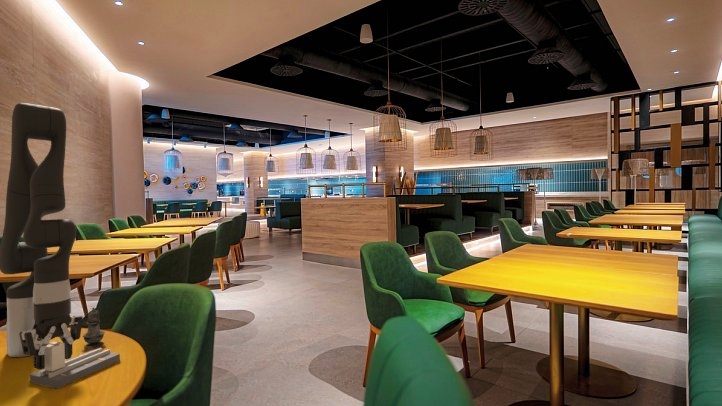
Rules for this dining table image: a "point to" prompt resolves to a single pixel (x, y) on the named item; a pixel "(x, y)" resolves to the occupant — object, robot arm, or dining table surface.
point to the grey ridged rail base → (76, 368)
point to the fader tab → (54, 357)
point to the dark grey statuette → (93, 331)
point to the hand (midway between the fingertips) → (53, 363)
